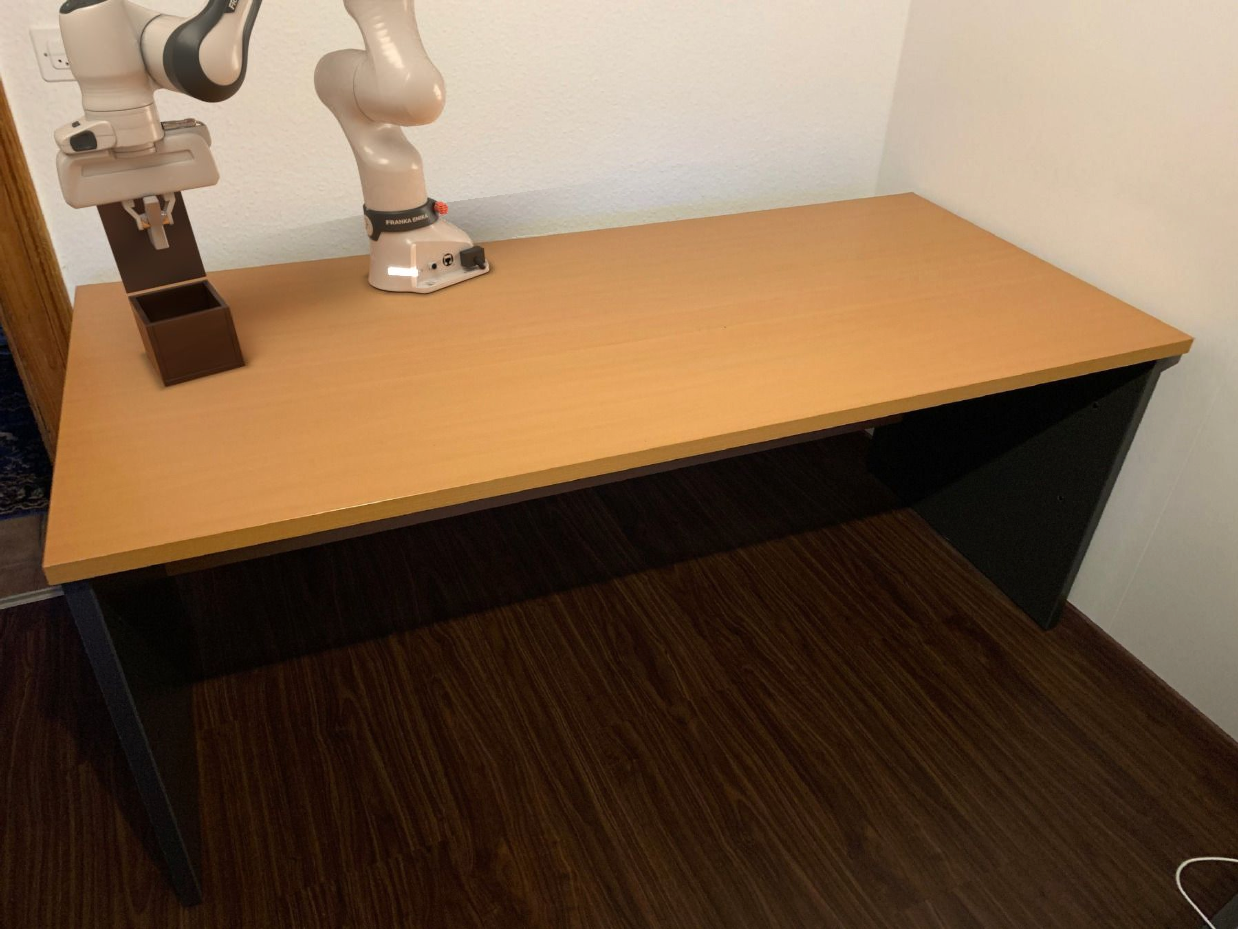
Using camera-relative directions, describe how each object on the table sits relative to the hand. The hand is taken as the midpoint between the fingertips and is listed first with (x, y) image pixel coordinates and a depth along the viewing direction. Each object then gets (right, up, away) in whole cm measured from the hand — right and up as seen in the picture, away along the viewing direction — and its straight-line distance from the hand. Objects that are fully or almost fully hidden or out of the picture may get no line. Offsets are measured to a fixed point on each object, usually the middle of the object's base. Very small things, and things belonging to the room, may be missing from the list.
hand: (155, 226), depth 132 cm
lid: (-4, 0, +8) cm, 9 cm away
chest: (0, -18, +12) cm, 22 cm away
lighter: (0, -3, +2) cm, 3 cm away
